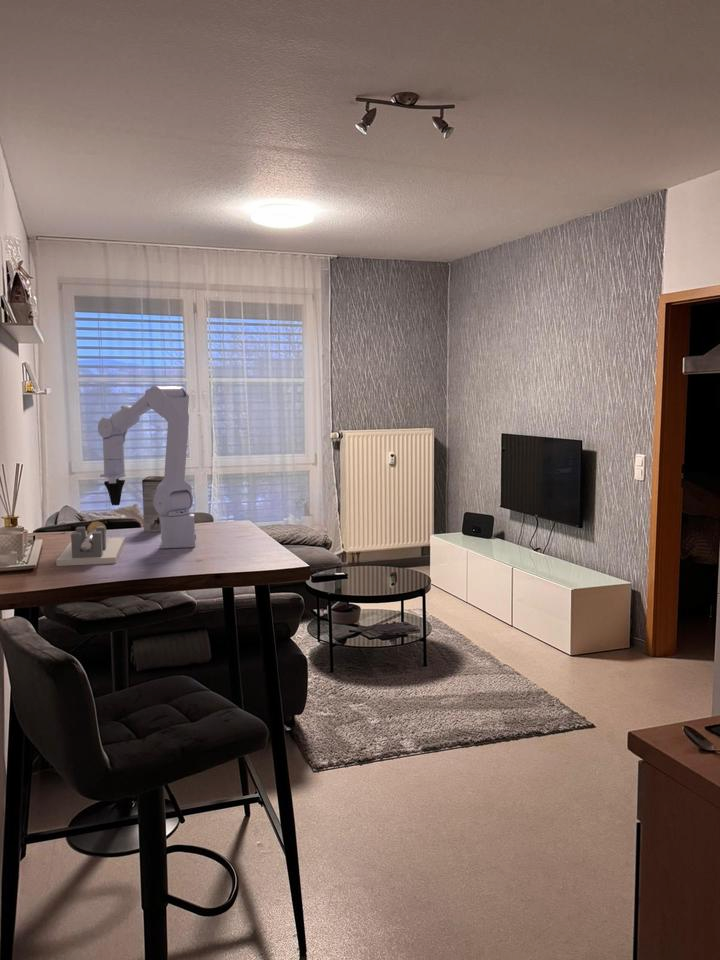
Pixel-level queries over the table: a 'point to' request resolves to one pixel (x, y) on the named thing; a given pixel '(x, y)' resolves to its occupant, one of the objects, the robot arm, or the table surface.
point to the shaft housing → (91, 549)
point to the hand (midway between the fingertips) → (115, 505)
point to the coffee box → (151, 504)
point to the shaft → (90, 536)
